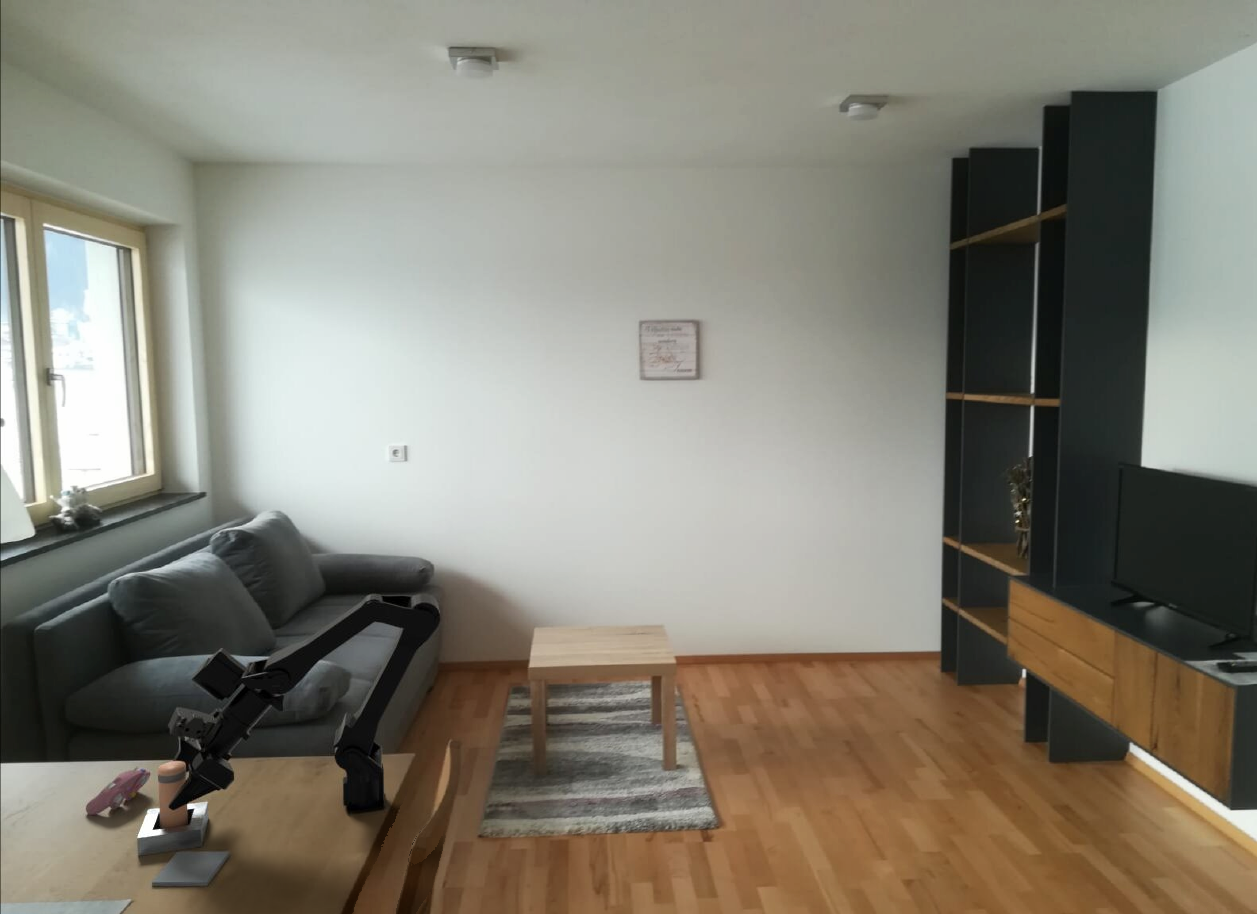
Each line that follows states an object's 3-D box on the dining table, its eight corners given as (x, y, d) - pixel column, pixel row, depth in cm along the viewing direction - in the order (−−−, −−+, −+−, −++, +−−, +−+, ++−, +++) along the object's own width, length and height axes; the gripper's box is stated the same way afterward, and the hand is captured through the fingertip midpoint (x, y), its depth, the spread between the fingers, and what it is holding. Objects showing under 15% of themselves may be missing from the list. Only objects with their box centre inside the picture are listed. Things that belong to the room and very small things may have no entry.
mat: (177, 854, 136) (177, 851, 136) (229, 854, 136) (229, 851, 136) (151, 885, 128) (151, 882, 128) (206, 885, 128) (206, 882, 128)
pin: (190, 827, 144) (187, 759, 142) (186, 840, 140) (183, 770, 138) (163, 831, 142) (160, 762, 141) (158, 845, 138) (155, 774, 137)
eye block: (208, 818, 147) (207, 801, 146) (201, 846, 138) (200, 828, 138) (148, 826, 144) (148, 809, 143) (137, 856, 135) (137, 838, 135)
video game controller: (102, 827, 146) (116, 794, 145) (80, 812, 147) (95, 779, 145) (145, 798, 156) (159, 767, 154) (125, 785, 156) (139, 754, 155)
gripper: (192, 672, 149) (120, 748, 144) (209, 710, 133) (130, 796, 128) (242, 707, 154) (175, 781, 149) (264, 747, 139) (190, 831, 134)
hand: (167, 795), depth 140 cm, fingers open, 9 cm apart
